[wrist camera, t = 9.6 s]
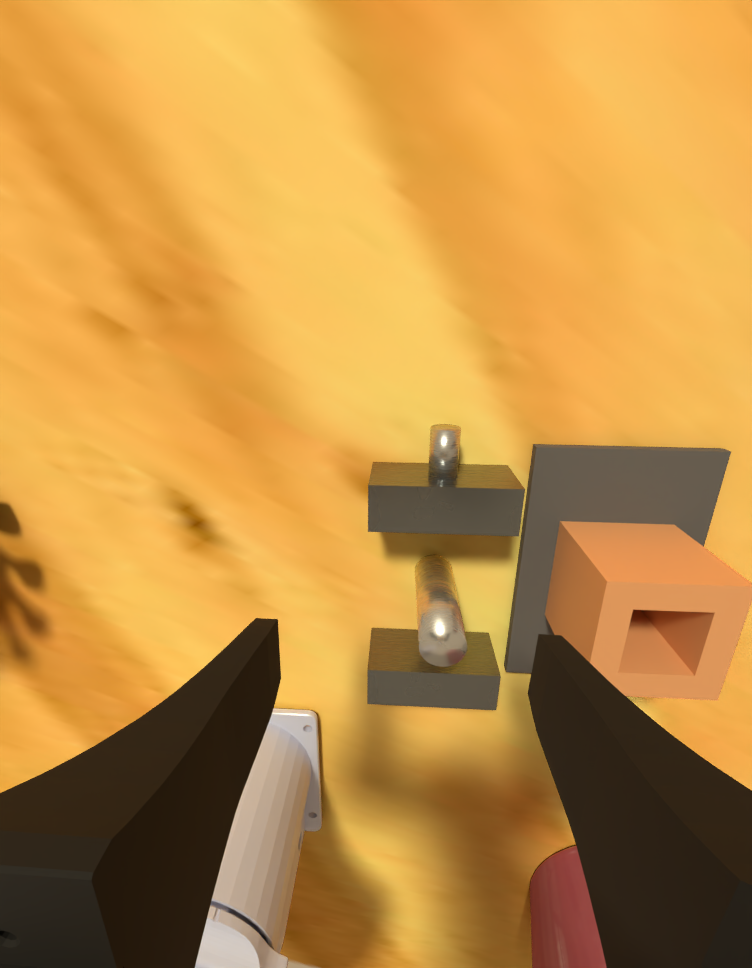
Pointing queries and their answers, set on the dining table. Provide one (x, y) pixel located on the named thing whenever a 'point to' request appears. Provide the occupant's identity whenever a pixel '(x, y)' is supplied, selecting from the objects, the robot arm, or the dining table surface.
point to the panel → (602, 513)
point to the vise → (438, 576)
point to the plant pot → (563, 915)
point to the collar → (647, 607)
